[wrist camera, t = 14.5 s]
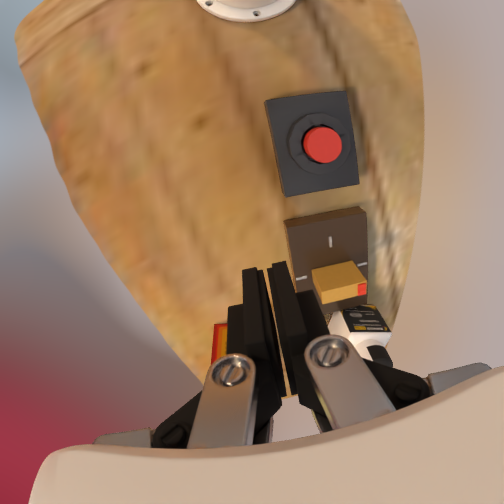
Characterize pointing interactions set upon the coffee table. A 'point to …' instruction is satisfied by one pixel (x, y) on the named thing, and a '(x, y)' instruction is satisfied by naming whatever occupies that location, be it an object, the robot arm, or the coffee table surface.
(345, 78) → the coffee table surface
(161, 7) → the coffee table surface
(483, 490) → the robot arm
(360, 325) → the medicine bottle
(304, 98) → the box
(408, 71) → the coffee table surface
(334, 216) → the plate
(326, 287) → the orange block red tip
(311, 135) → the door button
